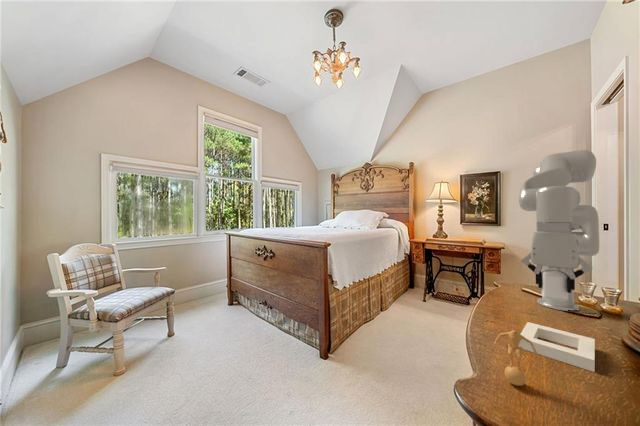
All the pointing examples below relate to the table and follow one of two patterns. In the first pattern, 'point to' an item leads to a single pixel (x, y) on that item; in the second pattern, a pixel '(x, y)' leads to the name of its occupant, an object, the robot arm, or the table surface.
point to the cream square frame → (570, 356)
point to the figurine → (512, 372)
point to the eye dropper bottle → (554, 284)
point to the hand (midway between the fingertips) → (554, 288)
